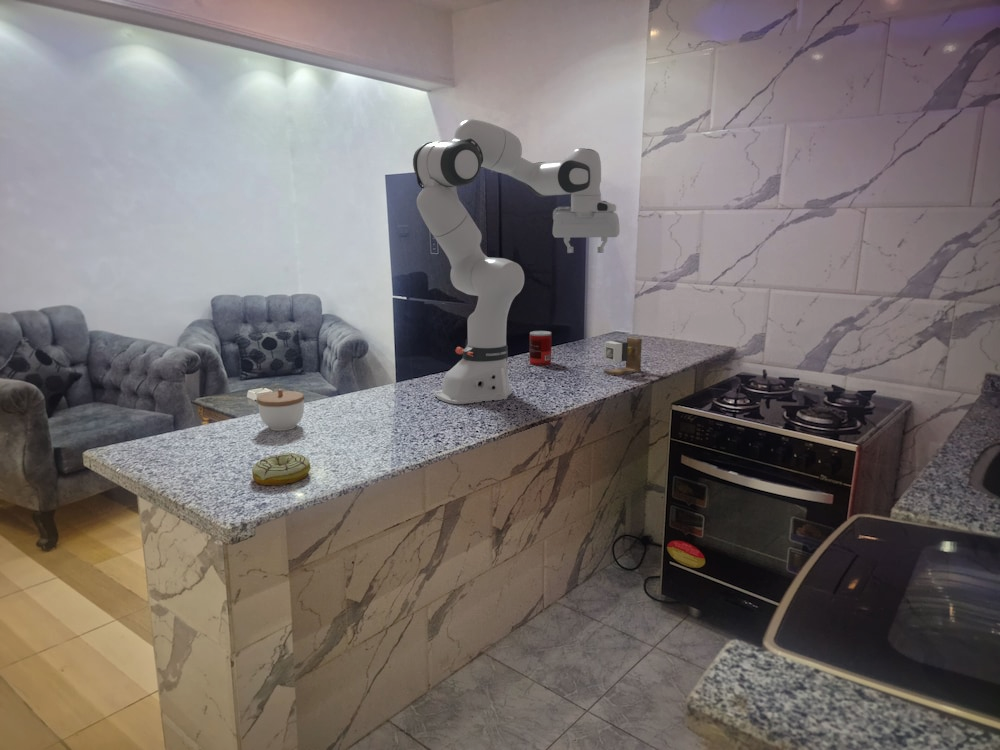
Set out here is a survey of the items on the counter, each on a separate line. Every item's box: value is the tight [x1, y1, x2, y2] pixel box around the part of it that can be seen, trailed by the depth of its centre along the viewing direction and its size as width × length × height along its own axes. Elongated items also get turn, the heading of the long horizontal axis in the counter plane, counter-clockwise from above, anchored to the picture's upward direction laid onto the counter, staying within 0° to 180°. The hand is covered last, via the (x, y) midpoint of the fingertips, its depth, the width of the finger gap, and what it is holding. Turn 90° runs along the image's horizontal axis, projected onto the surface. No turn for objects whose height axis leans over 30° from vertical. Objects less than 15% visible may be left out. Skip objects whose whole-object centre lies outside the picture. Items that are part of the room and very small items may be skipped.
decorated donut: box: [251, 452, 311, 487], centre depth 129 cm, size 10×11×4 cm
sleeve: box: [603, 340, 623, 363], centre depth 215 cm, size 3×5×6 cm, turn 33°
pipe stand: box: [603, 336, 643, 376], centre depth 218 cm, size 12×5×11 cm, turn 123°
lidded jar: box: [256, 388, 305, 432], centre depth 160 cm, size 11×11×9 cm
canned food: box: [529, 330, 553, 366], centre depth 233 cm, size 8×8×11 cm
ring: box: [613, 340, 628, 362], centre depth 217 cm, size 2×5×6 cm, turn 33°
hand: (585, 252), depth 201 cm, fingers open, 8 cm apart
